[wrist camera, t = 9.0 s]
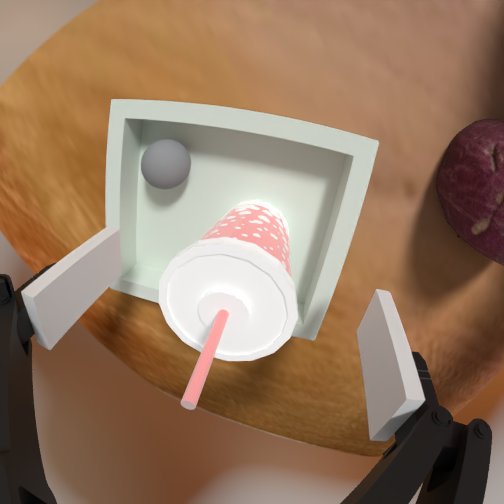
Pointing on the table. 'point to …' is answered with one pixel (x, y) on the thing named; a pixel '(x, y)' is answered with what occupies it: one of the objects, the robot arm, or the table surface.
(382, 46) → the table surface
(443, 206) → the vegetable
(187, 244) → the tray
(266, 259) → the beverage cup
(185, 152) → the ball
